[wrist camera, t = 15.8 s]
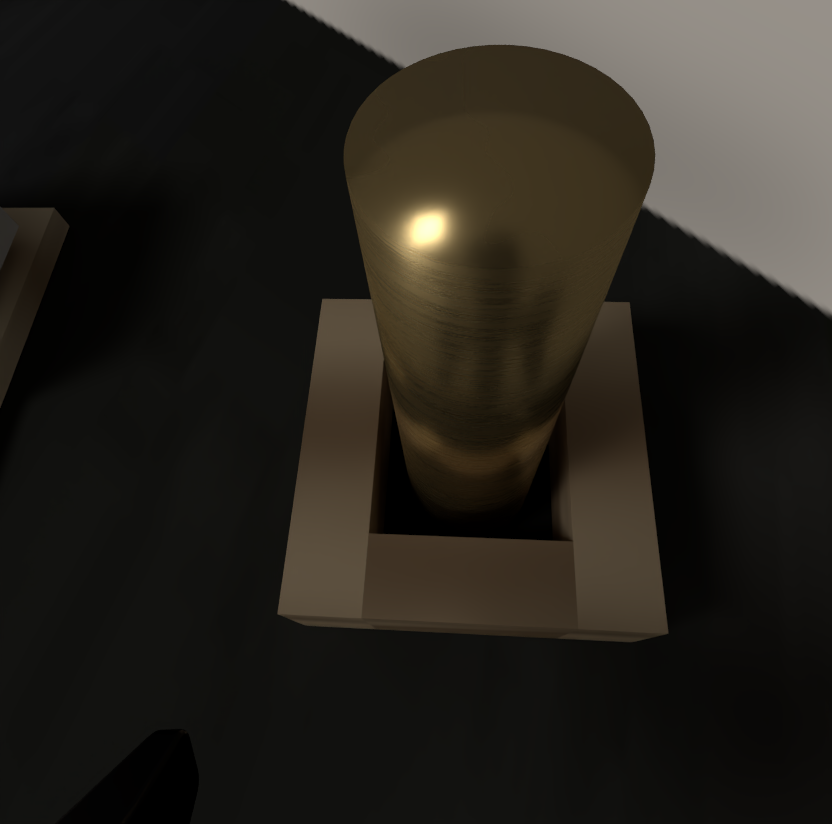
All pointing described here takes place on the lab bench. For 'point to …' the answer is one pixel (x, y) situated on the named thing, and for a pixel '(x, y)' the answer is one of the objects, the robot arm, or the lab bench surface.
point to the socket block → (464, 556)
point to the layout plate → (26, 280)
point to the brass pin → (490, 257)
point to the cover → (6, 234)
